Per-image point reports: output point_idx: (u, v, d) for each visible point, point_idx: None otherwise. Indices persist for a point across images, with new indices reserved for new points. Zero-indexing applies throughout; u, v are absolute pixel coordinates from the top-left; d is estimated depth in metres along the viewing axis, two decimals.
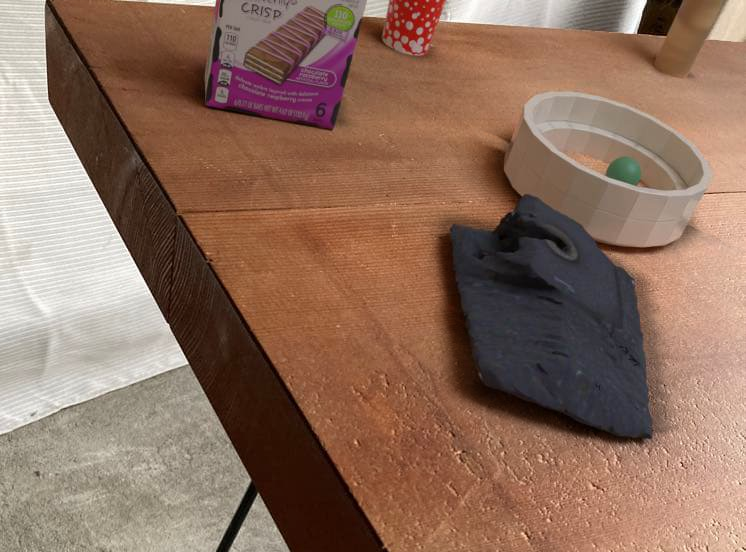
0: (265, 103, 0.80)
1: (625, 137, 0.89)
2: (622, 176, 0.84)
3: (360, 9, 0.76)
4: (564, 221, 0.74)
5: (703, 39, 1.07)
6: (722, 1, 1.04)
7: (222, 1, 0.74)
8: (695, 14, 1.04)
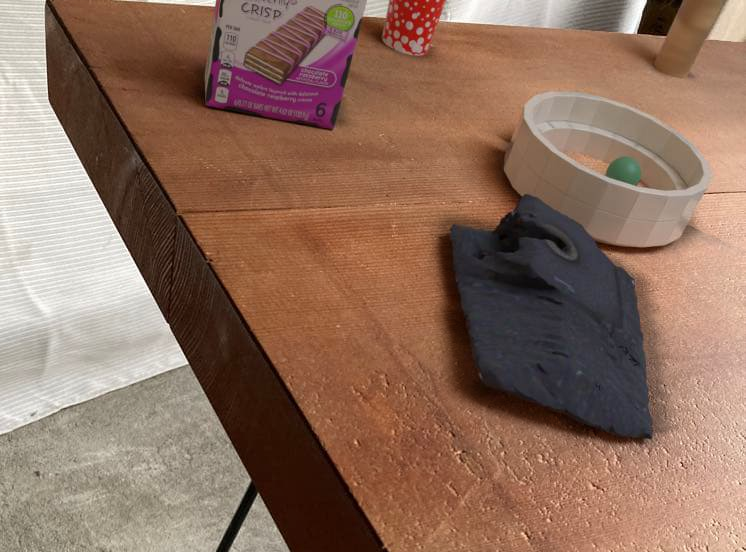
0: (265, 103, 0.80)
1: (625, 137, 0.89)
2: (622, 176, 0.84)
3: (360, 9, 0.76)
4: (564, 221, 0.74)
5: (703, 39, 1.07)
6: (722, 1, 1.04)
7: (222, 1, 0.74)
8: (695, 14, 1.04)
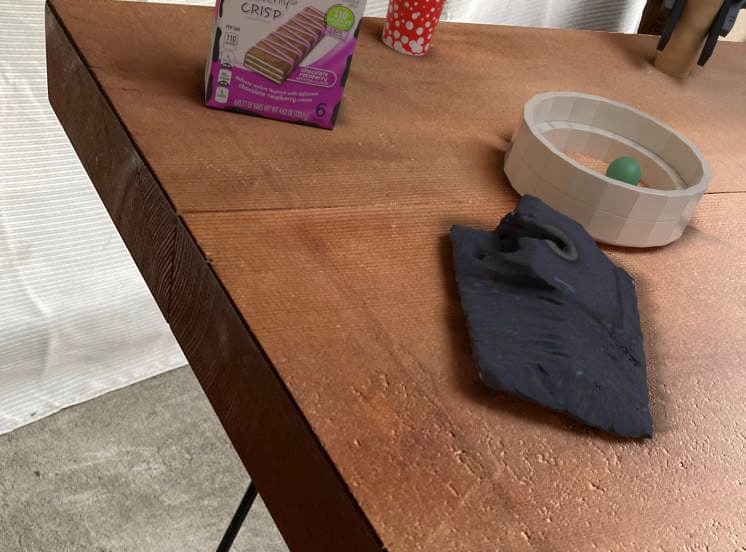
0: (265, 103, 0.80)
1: (625, 137, 0.89)
2: (622, 176, 0.84)
3: (360, 9, 0.76)
4: (564, 221, 0.73)
5: (703, 39, 1.07)
6: (722, 1, 1.04)
7: (222, 1, 0.74)
8: (695, 14, 1.04)
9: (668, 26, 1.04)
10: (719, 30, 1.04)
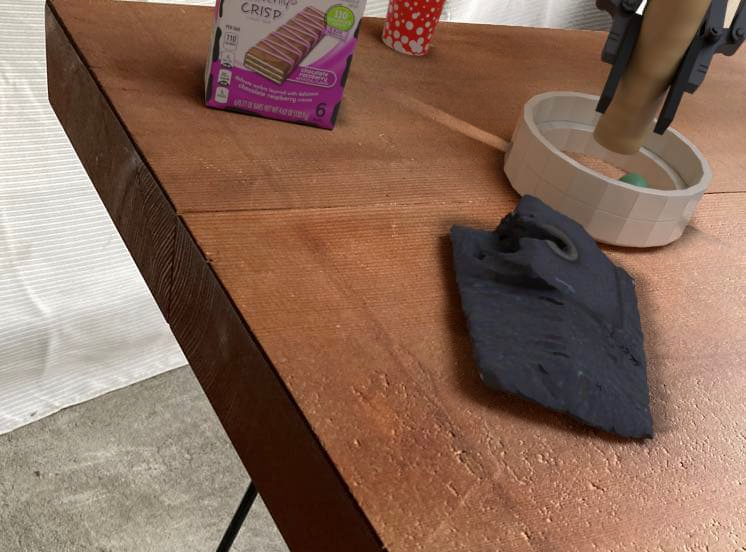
0: (265, 103, 0.80)
1: None
2: None
3: (360, 9, 0.76)
4: (564, 221, 0.73)
5: (663, 92, 0.75)
6: (688, 40, 0.72)
7: (222, 1, 0.74)
8: (649, 57, 0.73)
9: (610, 80, 0.73)
10: (683, 85, 0.72)
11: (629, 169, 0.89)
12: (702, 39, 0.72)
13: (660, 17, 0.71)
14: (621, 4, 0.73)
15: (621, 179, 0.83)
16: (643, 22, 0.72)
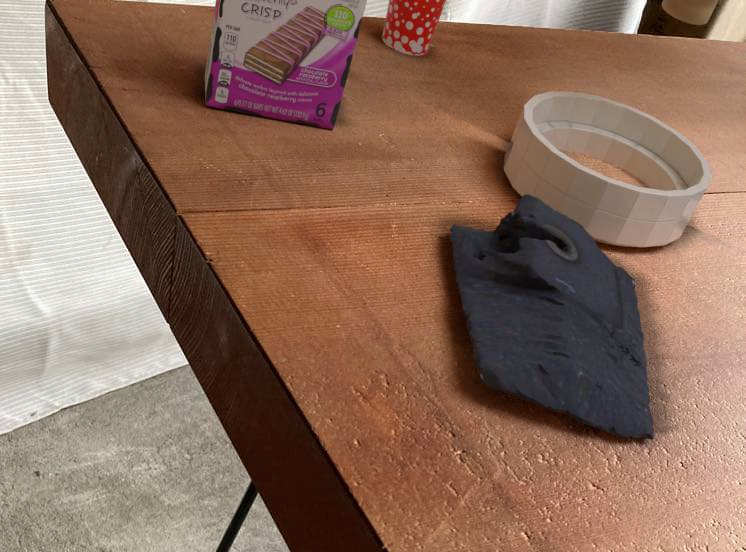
0: (265, 103, 0.80)
1: (625, 137, 0.89)
2: None
3: (360, 9, 0.76)
4: (564, 221, 0.73)
5: None
6: None
7: (222, 1, 0.74)
8: None
9: None
10: None
11: (629, 169, 0.89)
12: None
13: None
14: None
15: None
16: None
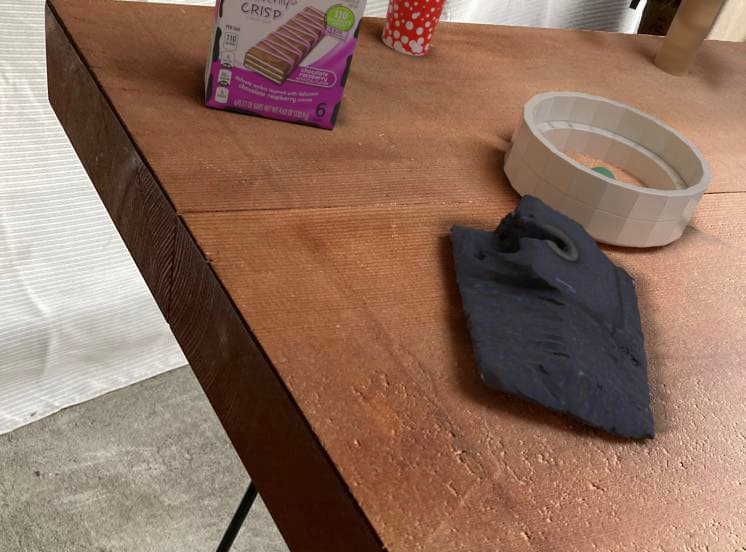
0: (265, 103, 0.80)
1: (625, 137, 0.89)
2: None
3: (360, 9, 0.76)
4: (564, 221, 0.73)
5: (702, 38, 1.07)
6: (721, 0, 1.04)
7: (222, 1, 0.74)
8: (694, 12, 1.05)
9: None
10: None
11: (629, 169, 0.89)
12: None
13: None
14: None
15: None
16: None
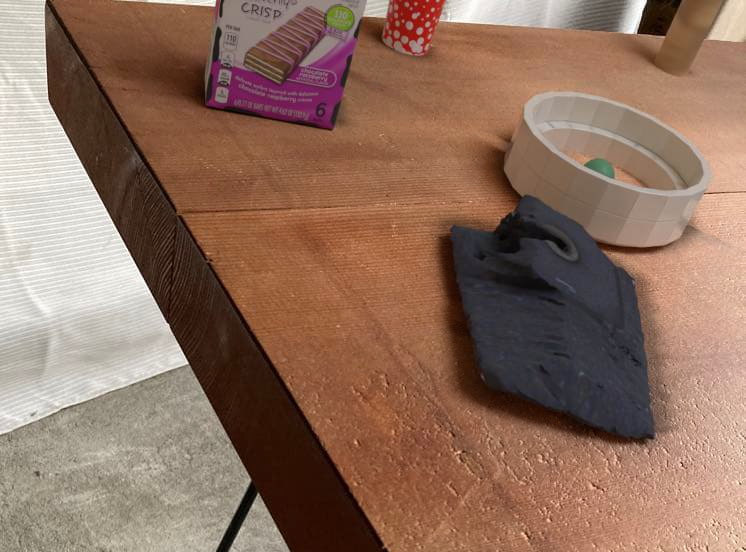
0: (265, 103, 0.80)
1: (625, 137, 0.89)
2: None
3: (360, 9, 0.76)
4: (564, 222, 0.73)
5: (702, 38, 1.07)
6: (721, 0, 1.04)
7: (222, 1, 0.74)
8: (694, 12, 1.05)
9: None
10: None
11: (629, 169, 0.89)
12: None
13: None
14: None
15: None
16: None
